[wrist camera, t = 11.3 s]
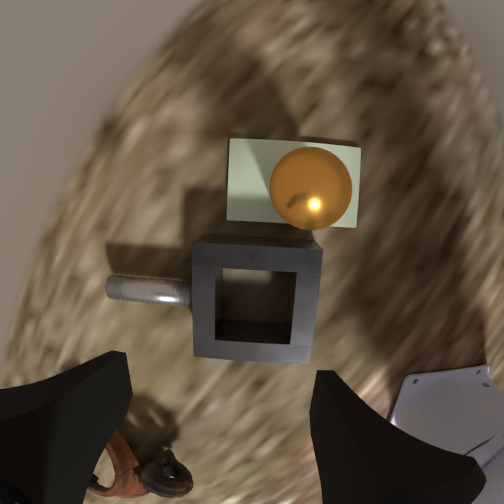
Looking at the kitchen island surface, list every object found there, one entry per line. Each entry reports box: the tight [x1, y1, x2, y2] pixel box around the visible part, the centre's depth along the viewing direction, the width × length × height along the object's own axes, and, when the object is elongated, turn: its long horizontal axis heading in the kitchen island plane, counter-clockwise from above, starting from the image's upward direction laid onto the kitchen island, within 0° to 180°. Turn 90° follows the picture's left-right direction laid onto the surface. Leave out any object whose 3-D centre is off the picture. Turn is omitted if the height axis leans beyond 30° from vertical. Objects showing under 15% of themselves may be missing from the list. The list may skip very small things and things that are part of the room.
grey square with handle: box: [106, 234, 323, 364], centre depth 19 cm, size 13×7×3 cm, turn 87°
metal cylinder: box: [268, 147, 352, 230], centre depth 15 cm, size 3×3×7 cm
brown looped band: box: [88, 410, 193, 498], centre depth 21 cm, size 12×10×8 cm
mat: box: [227, 138, 361, 228], centre depth 18 cm, size 8×5×1 cm, turn 87°
